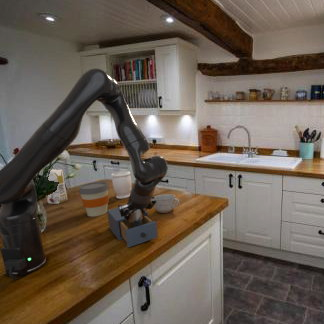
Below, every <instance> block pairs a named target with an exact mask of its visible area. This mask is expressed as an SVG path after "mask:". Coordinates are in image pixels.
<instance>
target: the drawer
mask: <svg viewBox="0 0 324 324" xmlns="http://www.w3.org/2000/svg"><path fill="white" fill-rule="evenodd" d="M148 217H149V216H148ZM148 217H147V216H145V215H143V225H140V226H137V227H134V228H130V226H129V219H127V220H124V221H120V222H119V228H120V235H121V236H122V237H123V238H124V239H123V240H124V241H125V242H126V247H127V248H130V247H133V246H137V245H140V244H143V243H145V242H148V241H151V240H153V239H157V238H158V237H159V236H158V226H157V221H156V220H154V221H153V220H152V219H151V218H150V217H149V218H148Z"/></svg>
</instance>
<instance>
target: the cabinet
mask: <svg viewBox="0 0 324 324" xmlns="http://www.w3.org/2000/svg"><path fill="white" fill-rule="evenodd" d="M143 215H145V216H147V217H148V218H149V219H150V217H149V212H148V210H147V211H145V213H144V214H143ZM124 220H126V219H125V218H124V216H123V217H121V214H120V211H119V208H118V207H115V208H111V209H107V221H108V228H109V229H110V231H111V232H112V233H113V235H114V237H116V238H117V239H118V241H121V240H124V238H123V237H122V236H121V235H120V228H119V222H120V221H124Z"/></svg>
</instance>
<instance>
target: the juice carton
mask: <svg viewBox="0 0 324 324" xmlns="http://www.w3.org/2000/svg"><path fill="white" fill-rule="evenodd" d="M51 169H52V170H51ZM51 169H50V170H51V171H50V174H49V177H48V180H49V181H54V182H59V184H58V186H57V190H56V191H55V192H53V193H52V194H50V195H48V196H47V195H46V201H47V203H48V204H53V205H60V204H61V203H64V202H67V201H68V194H67V189H66V182H65V177H64V172H63V171H64V169H55V168H51Z"/></svg>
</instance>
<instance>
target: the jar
mask: <svg viewBox="0 0 324 324" xmlns="http://www.w3.org/2000/svg"><path fill="white" fill-rule="evenodd" d="M111 177H112V181H111V182H112V188H113V190H114V191H113V192H114V193H115V194H116V195H115V197H116V199H119V200H120V199H121V200H122V199H127V198H129V196H130V193H131V190H132V183H133V182H132V177H131V171H128V170H122V171H116V172H112V173H111Z"/></svg>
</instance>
